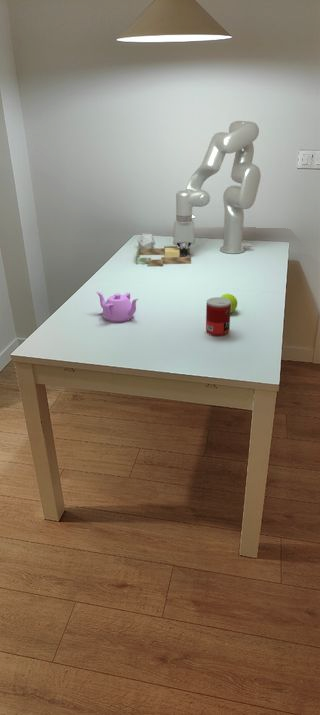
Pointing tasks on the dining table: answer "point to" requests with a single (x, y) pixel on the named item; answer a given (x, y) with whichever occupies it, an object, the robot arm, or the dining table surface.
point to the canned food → (218, 316)
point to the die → (146, 241)
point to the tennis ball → (233, 301)
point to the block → (171, 252)
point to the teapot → (118, 307)
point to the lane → (159, 262)
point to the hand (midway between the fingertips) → (184, 256)
